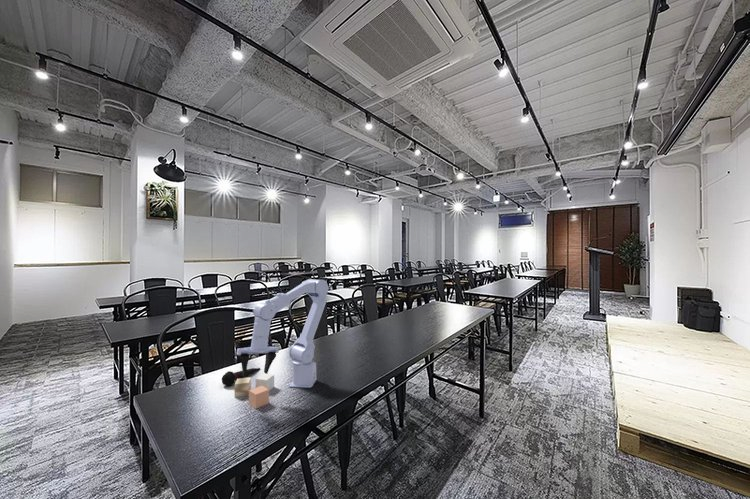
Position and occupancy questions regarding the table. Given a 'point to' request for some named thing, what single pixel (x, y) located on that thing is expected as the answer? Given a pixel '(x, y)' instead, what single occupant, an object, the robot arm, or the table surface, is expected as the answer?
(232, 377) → the microphone
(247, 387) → the birch block
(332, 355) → the table surface
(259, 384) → the white block
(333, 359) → the table surface
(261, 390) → the peach block
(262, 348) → the robot arm
